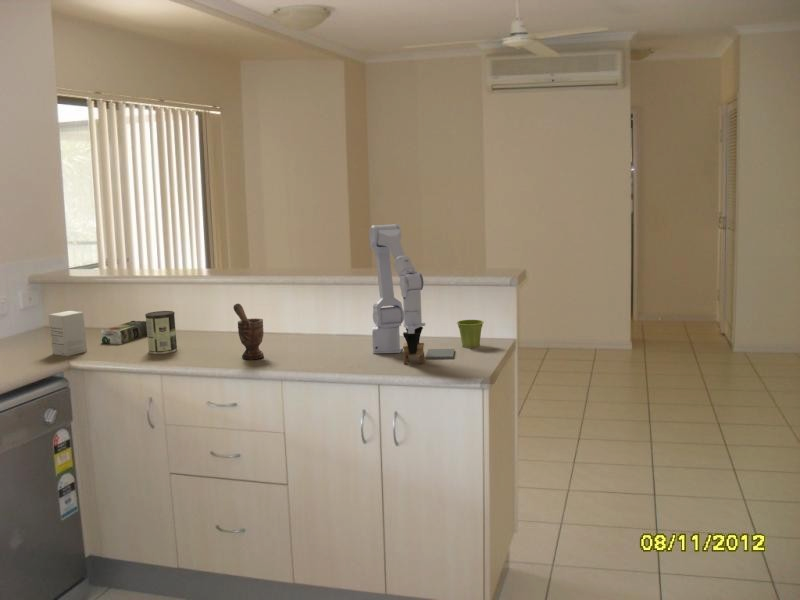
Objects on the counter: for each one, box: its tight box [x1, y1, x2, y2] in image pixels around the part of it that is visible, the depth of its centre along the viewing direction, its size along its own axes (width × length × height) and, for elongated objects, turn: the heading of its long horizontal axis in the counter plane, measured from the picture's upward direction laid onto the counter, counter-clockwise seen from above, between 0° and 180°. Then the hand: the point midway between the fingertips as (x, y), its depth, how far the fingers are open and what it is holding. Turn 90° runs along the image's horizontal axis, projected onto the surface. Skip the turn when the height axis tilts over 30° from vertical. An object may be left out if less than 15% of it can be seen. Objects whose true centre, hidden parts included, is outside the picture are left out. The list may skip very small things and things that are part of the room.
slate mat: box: [425, 348, 455, 360], centre depth 301 cm, size 9×12×1 cm
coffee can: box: [144, 310, 178, 355], centre depth 323 cm, size 10×10×14 cm
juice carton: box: [100, 320, 148, 345], centre depth 349 cm, size 20×10×6 cm, turn 159°
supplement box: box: [48, 310, 88, 357], centre depth 325 cm, size 9×9×15 cm
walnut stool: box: [402, 342, 425, 365], centre depth 290 cm, size 6×5×6 cm
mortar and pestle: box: [233, 303, 265, 361], centre depth 304 cm, size 12×9×20 cm
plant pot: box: [456, 319, 484, 349], centre depth 313 cm, size 9×9×9 cm
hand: (413, 351), depth 290 cm, fingers open, 7 cm apart
